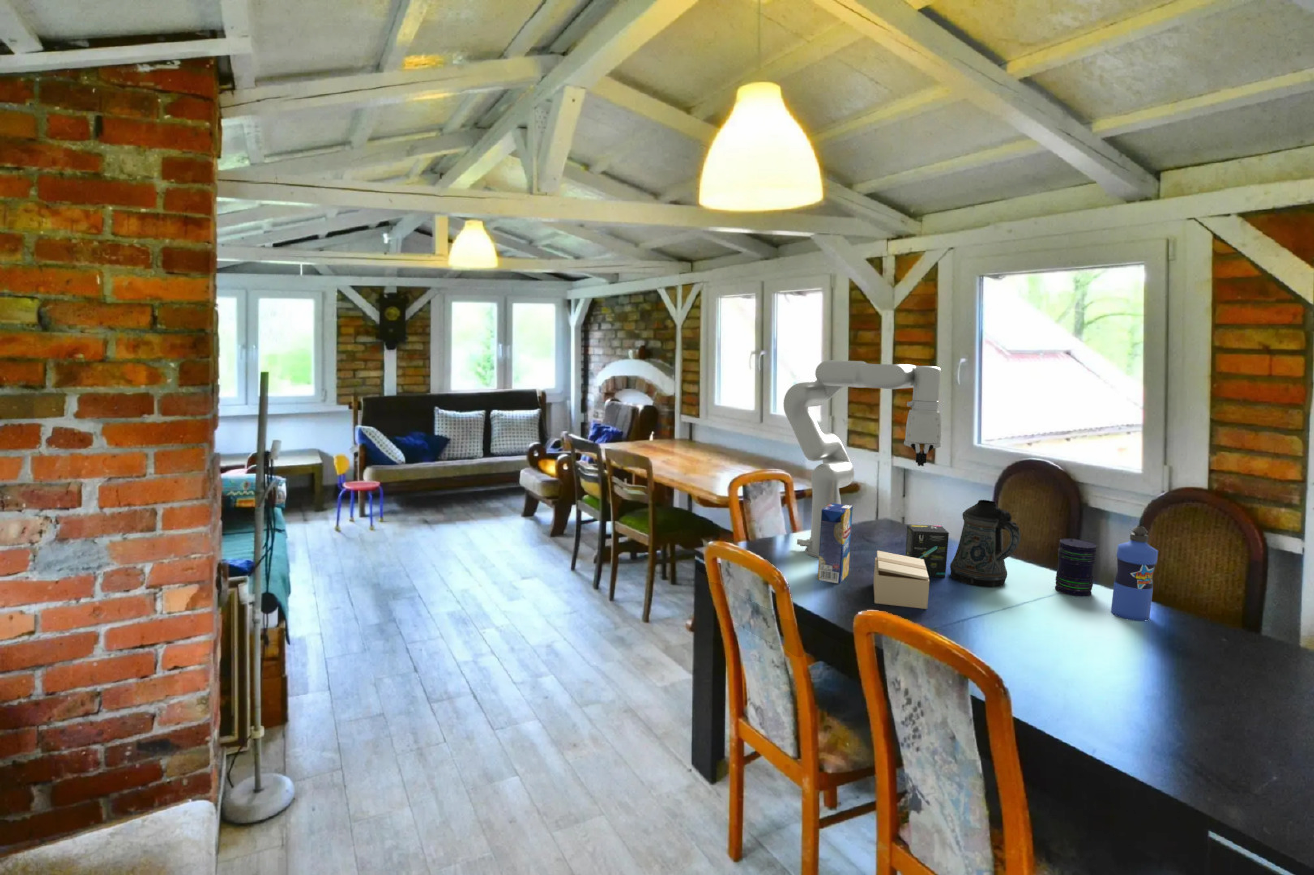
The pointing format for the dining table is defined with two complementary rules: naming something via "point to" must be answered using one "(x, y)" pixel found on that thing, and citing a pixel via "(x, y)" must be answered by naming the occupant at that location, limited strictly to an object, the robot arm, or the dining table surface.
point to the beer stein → (984, 546)
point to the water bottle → (1134, 577)
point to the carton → (900, 589)
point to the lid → (902, 565)
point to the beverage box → (835, 542)
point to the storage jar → (1075, 567)
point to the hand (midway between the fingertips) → (920, 465)
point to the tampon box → (928, 547)
